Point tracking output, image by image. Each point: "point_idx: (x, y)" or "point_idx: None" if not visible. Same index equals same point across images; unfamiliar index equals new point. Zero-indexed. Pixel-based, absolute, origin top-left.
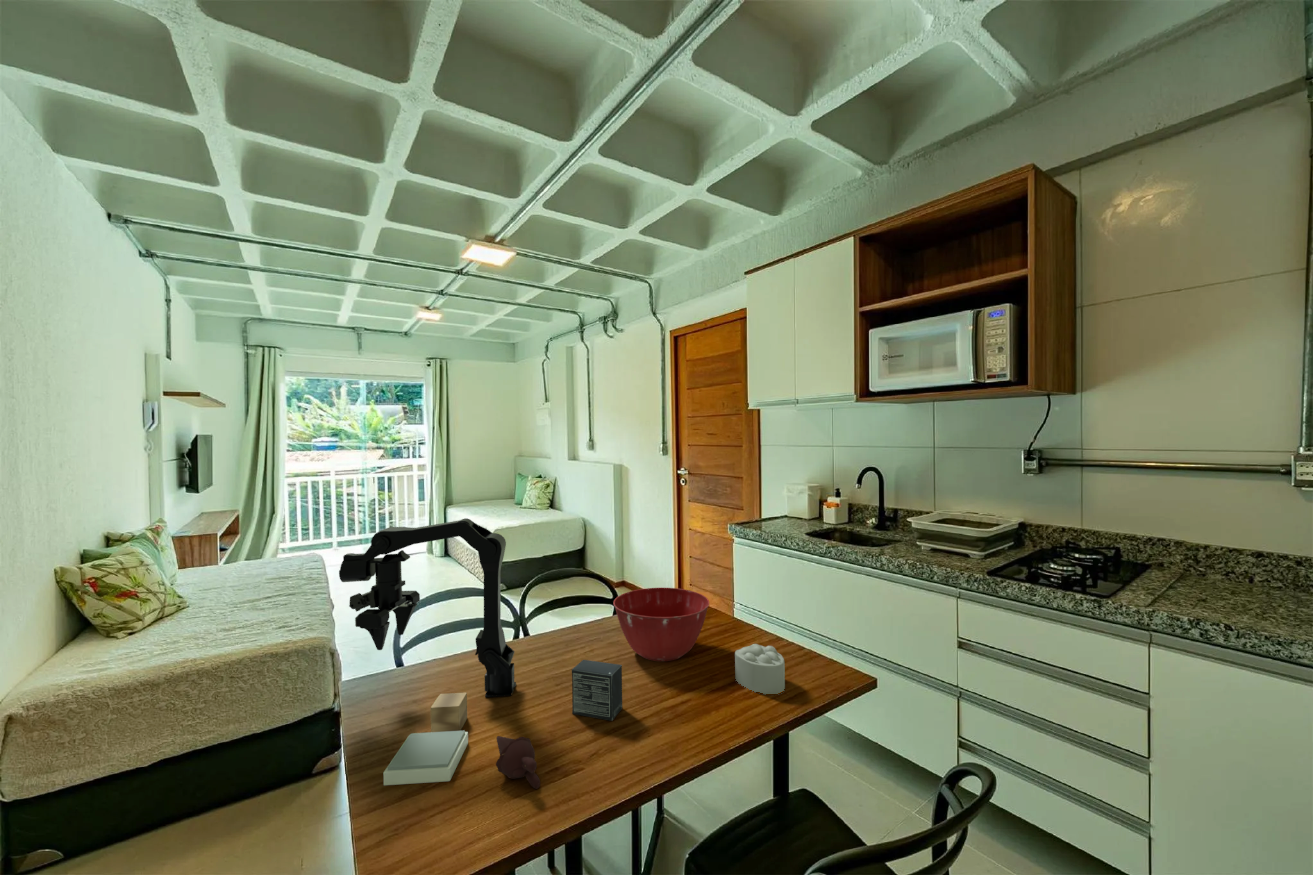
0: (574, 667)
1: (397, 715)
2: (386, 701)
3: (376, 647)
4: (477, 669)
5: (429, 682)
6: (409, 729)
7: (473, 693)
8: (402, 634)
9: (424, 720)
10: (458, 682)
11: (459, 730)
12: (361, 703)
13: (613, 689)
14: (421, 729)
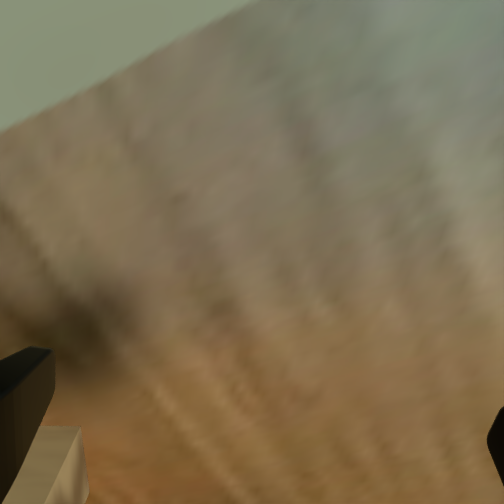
0: None
1: (110, 280)
2: (237, 190)
3: (2, 362)
4: (446, 450)
5: (383, 314)
6: None
7: (251, 475)
8: (489, 444)
9: (73, 382)
10: (351, 415)
11: None
12: (234, 69)
13: None
14: None
